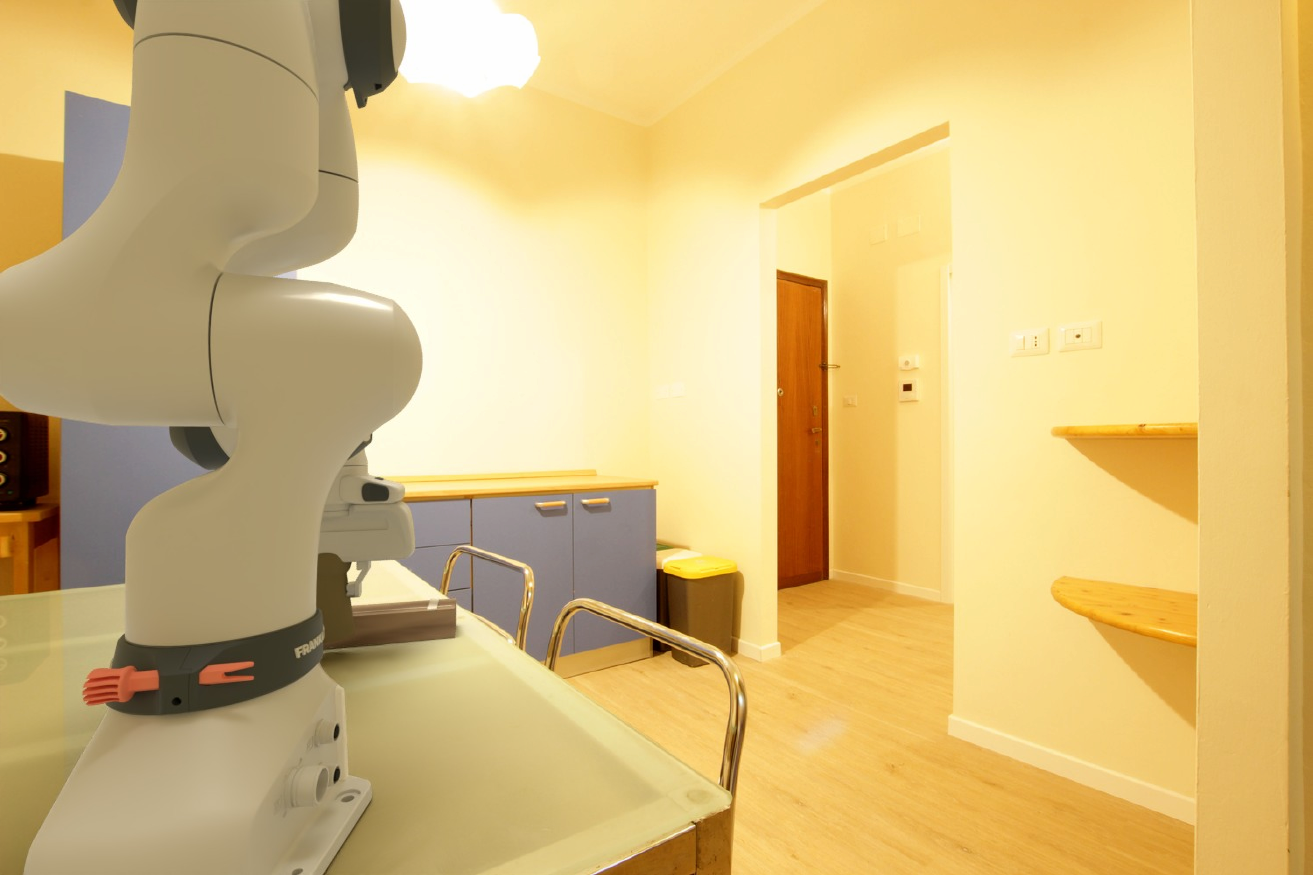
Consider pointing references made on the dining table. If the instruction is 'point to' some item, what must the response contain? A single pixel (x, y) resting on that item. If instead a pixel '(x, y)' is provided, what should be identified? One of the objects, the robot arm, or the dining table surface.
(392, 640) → the walnut plank
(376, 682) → the dining table surface
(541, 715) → the dining table surface
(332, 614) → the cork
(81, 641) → the dining table surface
